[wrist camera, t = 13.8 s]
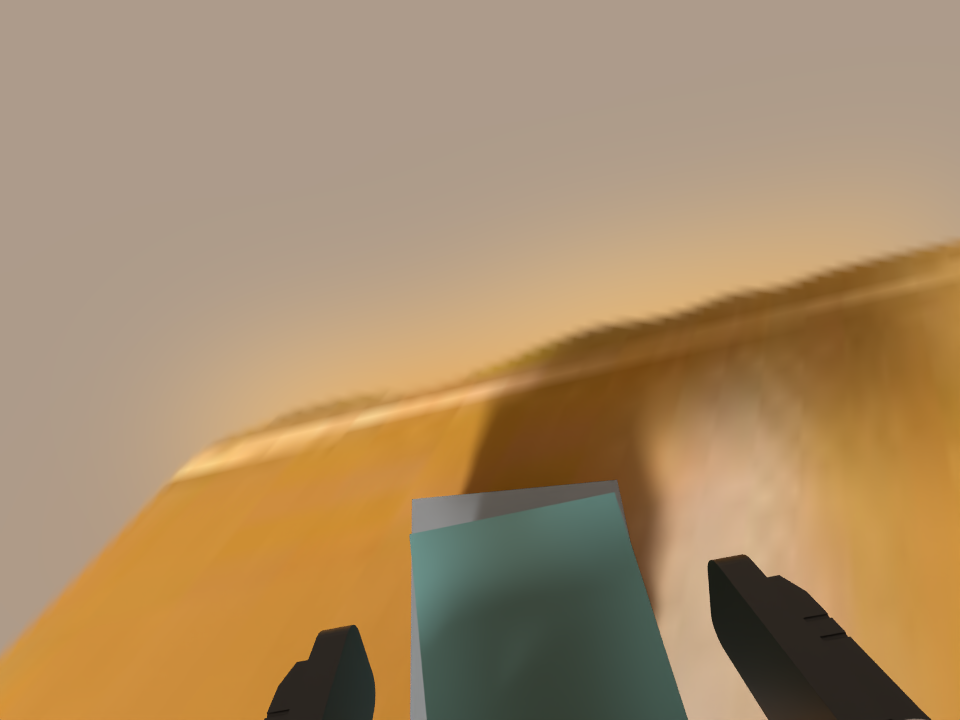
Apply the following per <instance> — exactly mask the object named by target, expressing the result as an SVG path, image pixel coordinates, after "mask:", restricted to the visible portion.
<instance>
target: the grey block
mask: <svg viewBox="0 0 960 720" xmlns="http://www.w3.org/2000/svg"><path fill="white" fill-rule="evenodd" d="M613 492H614V493H615V496H616V499H617V502H618V505H619V508H620V511H621V514H622V517H623V520H624V524H625V527H626V530H627V533H628V528H627V523H626V519H625V514H624V510H623V505H622V500H621V496H620V491H619V487H618V482H617V480H610V481H600V482H589V483H579V484H568V485H558V486H547V487H537V488H526V489H515V490H505V491H494V492H484V493H473V494H463V495H452V496H442V497H431V498H421V499H412V534H413V533H418V532H423V531H428V530H433V529H438V528H443V527H447V526H452V525H457V524H462V523H467V522H472V521H477V520H482V519H486V518H491V517H496V516H501V515H506V514H511V513H516V512H521V511H525V510H530V509H535V508H540V507H545V506H550V505H555V504H560V503H564V502H569V501H574V500H579V499H584V498H589V497H594V496H598V495H603V494H608V493H613ZM628 536H629V533H628ZM629 539H630V537H629ZM410 720H427V717H426V706H425V696H424V685H423V674H422V663H421V652H420V642H419V631H418V620H417V609H416V598H415V588H414V577H413V566H412V581H411V703H410Z"/></svg>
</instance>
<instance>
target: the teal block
mask: <svg viewBox="0 0 960 720" xmlns="http://www.w3.org/2000/svg"><path fill="white" fill-rule="evenodd" d="M410 544H411V555H412V566H413V577H414V588H415V598H416V609H417V620H418V631H419V642H420V652H421V663H422V674H423V685H424V696H425V706H426V717H427V720H688V718H687V715H686V712H685V709H684V706H683V703H682V700H681V697H680V694H679V690H678V687H677V684H676V681H675V678H674V675H673V672H672V669H671V666H670V663H669V660H668V656H667V653H666V650H665V647H664V644H663V641H662V638H661V635H660V632H659V629H658V626H657V622H656V619H655V616H654V613H653V610H652V607H651V604H650V601H649V598H648V595H647V592H646V588H645V585H644V582H643V579H642V576H641V573H640V570H639V567H638V564H637V561H636V558H635V554H634V551H633V548H632V545H631V542H630V539H629V536H628V533H627V530H626V527H625V524H624V520H623V517H622V514H621V511H620V508H619V505H618V502H617V499H616V496H615V493H614V492H613V493H608V494H603V495H598V496H594V497H589V498H584V499H579V500H574V501H569V502H564V503H560V504H555V505H550V506H545V507H540V508H535V509H530V510H525V511H521V512H516V513H511V514H506V515H501V516H496V517H491V518H486V519H482V520H477V521H472V522H467V523H462V524H457V525H452V526H447V527H443V528H438V529H433V530H428V531H423V532H418V533H413V534H410Z"/></svg>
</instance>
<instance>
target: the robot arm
mask: <svg viewBox="0 0 960 720" xmlns="http://www.w3.org/2000/svg"><path fill="white" fill-rule="evenodd" d="M708 579H709V593H710V607H711V617H712V622H713V625H714V629H715V631H716V634H717V637H718V639H719V641H720V643H721V645H722V647H723V648H724V650H725V652H726V653H727V655H728V656H729V658H730V660H731V661H732V663H733V664H734V666H735V668H736V669H737V671H738V672H739V674H740V676H741V677H742V679H743V680H744V682H745V683H746V685H747V687H748V688H749V690H750V691H751V693H752V695H753V696H754V698H755V699H756V701H757V703H758V704H759V706H760V707H761V709H762V710H763V712H764V714H765V715H766V717H767V718H768V720H931V719H930V718H929V717H928V716H927V715H926V714H925V713H924V712H923V711H922V710H921V709H920V708H919V707H918V706H917V705H916V704H915V703H914V702H913V701H912V700H911V699H910V698H909V697H908V696H907V695H906V694H905V693H904V692H903V691H902V690H901V689H900V688H899V687H898V686H897V685H896V684H895V683H894V682H893V680H892V679H891V678H890V677H889V676H888V675H887V674H886V673H885V672H884V671H883V670H882V669H881V668H880V667H879V666H878V665H877V664H876V663H875V662H874V661H873V660H872V659H871V658H870V657H869V656H868V655H867V654H866V653H865V652H864V650H863V649H862V648H861V647H860V646H859V645H858V644H857V643H856V642H855V641H854V640H853V639H852V638H851V637H848V636H847V635H846V632H845V631H844V630H843V629H842V628H841V627H840V626H839V625H838V624H837V623H836V622H835V620H834V619H833V618H829V616H828V613H827V612H826V611H825V610H824V609H823V608H822V607H821V606H820V605H819V604H818V603H817V602H816V601H815V600H814V599H813V598H812V597H811V596H810V595H809V594H808V593H807V592H806V591H805V590H803V589H801V588H800V587H798V586H796V585H795V584H793V583H791V582H790V581H788V580H786V579H785V578H783V577H781V576H780V575H778V576H772V577H766V576H765V575H764V574H763V572H762V571H761V570H760V569H759V568H758V567H757V566H756V565H755V563H754V562H753V561H752V560H751V559H750V558H749V557H748V556H746V555H743V554H742V555H737V556H731V557H726V558H720V559H715V560H710V561H709V562H708ZM374 707H375V682H374V677H373V673H372V670H371V667H370V664H369V661H368V658H367V655H366V652H365V648H364V645H363V642H362V639H361V636H360V633H359V630H358V628H357V627H356V626H355V625H350V626H345V627H339V628H334V629H329V630H323V631H321V632H320V633H319V634H318V636H317V638H316V641H315V643H314V646H313V649H312V651H311V654H310V657H309V659H308V660H306V661H301V662H297V663H296V664H295V665H294V667H293V668H292V669H291V670H290V672H289V673H288V674H287V676H286V677H285V678H284V680H283V681H282V682H281V683H280V685H279V686H278V688H277V691H276V693H275V695H274V698H273V700H272V702H271V705H270V707H269V710H268V712H267V718H265V719H264V720H372V718H373V713H374Z"/></svg>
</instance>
